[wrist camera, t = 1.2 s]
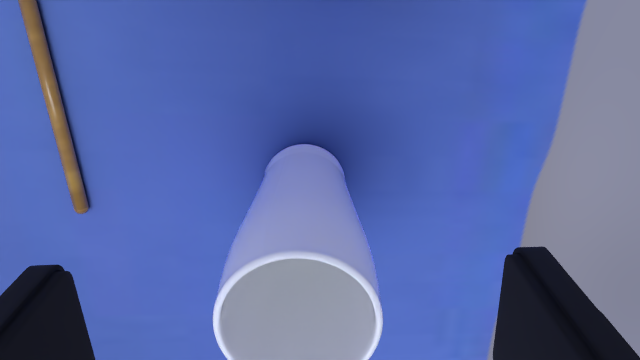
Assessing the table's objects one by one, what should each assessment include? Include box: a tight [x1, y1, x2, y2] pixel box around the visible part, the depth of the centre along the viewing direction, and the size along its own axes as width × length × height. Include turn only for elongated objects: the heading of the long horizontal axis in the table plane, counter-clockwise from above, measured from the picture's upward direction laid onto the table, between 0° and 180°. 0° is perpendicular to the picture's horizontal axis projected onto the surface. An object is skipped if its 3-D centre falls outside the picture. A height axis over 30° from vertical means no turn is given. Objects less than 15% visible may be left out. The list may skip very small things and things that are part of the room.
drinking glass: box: [213, 144, 383, 360], centre depth 26 cm, size 7×7×15 cm
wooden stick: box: [18, 0, 89, 214], centre depth 30 cm, size 15×1×1 cm, turn 3°
